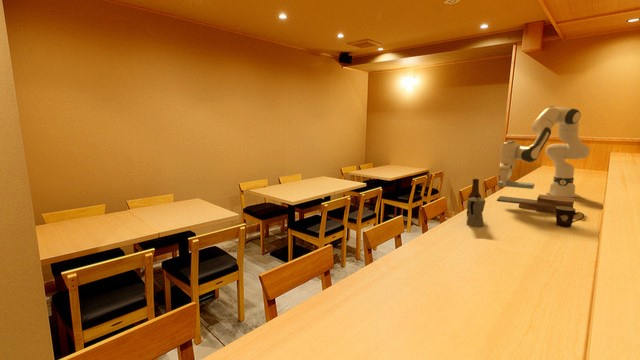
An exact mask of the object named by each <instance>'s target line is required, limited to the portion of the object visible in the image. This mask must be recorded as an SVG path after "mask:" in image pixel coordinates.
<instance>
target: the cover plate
mask: <svg viewBox="0 0 640 360" xmlns="http://www.w3.org/2000/svg"><path fill="white" fill-rule="evenodd" d="M497 186H498V187H504V186H503V181H501V180H499V181H498V182H497ZM505 187H507V188H508V187H509V188H517V189H527V190H528V189H530V190H533V189H534V188H535V183H533V182H521V181H520V182H519V181H506V186H505Z"/></svg>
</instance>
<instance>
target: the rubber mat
mask: <svg viewBox="0 0 640 360" xmlns="http://www.w3.org/2000/svg"><path fill="white" fill-rule="evenodd" d="M520 200H522V201H530V202H537V199H530V198H523V197H522V198H520V197H511V196H505V195H504V196H503V195H500V196H499V197H498V198H496V201H497V202H505V203H514V204H519V201H520Z"/></svg>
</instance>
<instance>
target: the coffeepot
mask: <svg viewBox="0 0 640 360" xmlns="http://www.w3.org/2000/svg"><path fill="white" fill-rule="evenodd" d="M475 196H476V197H472V198H468V197H467V203H468V206H469V214H468V217H467V219H466V225H467V226H468V225H469V227H473V228H481V227H484V216H483V212H484V209H485V205H486V199H485V198H483V197H481V198H479V197H478V194H476V195H475Z"/></svg>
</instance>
